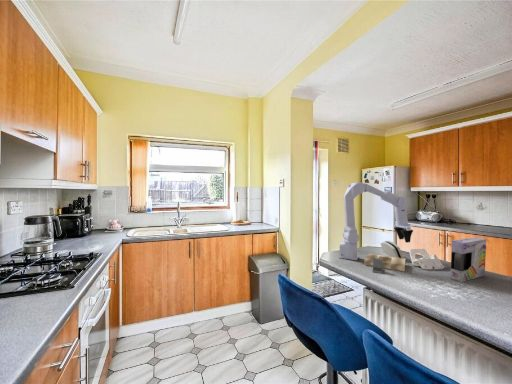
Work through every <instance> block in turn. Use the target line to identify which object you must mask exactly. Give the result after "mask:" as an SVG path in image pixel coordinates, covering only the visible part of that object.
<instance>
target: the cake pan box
mask: <svg viewBox="0 0 512 384" xmlns="http://www.w3.org/2000/svg"><path fill="white" fill-rule="evenodd" d="M486 250H487V239H486V238H484V237H483V238H482V237H477V236H474V237H468V238H467V237H465V238H461V239H453V240H451V250H450V251H451V254H450V255H451V256H450V280H453V281H456V280H457V281H456V282H459V281H460V283H462V281H463V282H467V281H470V280H473V279H478V278H481V277H484V276H485V275H486V257H487V254H486V253H487V251H486ZM466 280H467V281H466Z"/></svg>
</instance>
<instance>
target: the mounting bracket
mask: <svg viewBox="0 0 512 384" xmlns="http://www.w3.org/2000/svg"><path fill="white" fill-rule="evenodd" d="M408 253H409V256H410V261H411V263H412V266H413V267H421V269H422V270H443V269H444V268H445V265H444V264H443V263H442V262H441V261H440V259H439V257H438V256H437V255H436V254H431V255H430V254H429V253H428V251H427V250H426V249H425V248H410V249H409V250H408ZM417 254H420V255H421V256H422V257H421V258H416V255H417Z"/></svg>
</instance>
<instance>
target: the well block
mask: <svg viewBox="0 0 512 384" xmlns="http://www.w3.org/2000/svg"><path fill="white" fill-rule="evenodd" d="M373 258H378V259H383V269H388V270H393V271H399V272H405V269H406V260H405V259H403V258H396V257H390V256H388V255H381V254H372V253H368V254H367V255H366V257H365V258H364V266H367V267H368V266H370V267H373Z"/></svg>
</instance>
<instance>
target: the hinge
mask: <svg viewBox="0 0 512 384" xmlns="http://www.w3.org/2000/svg"><path fill="white" fill-rule="evenodd" d="M380 246H381V250H382V253H383V254H385V256H388V257H396V258H403V259H405V262H406V261H407V258H406V257H405V256H403V253H402V251H401V248H400V246H399V245H397V244H396V243H395V242H393V241H391V240H385V241H382V242H381V243H380Z"/></svg>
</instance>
